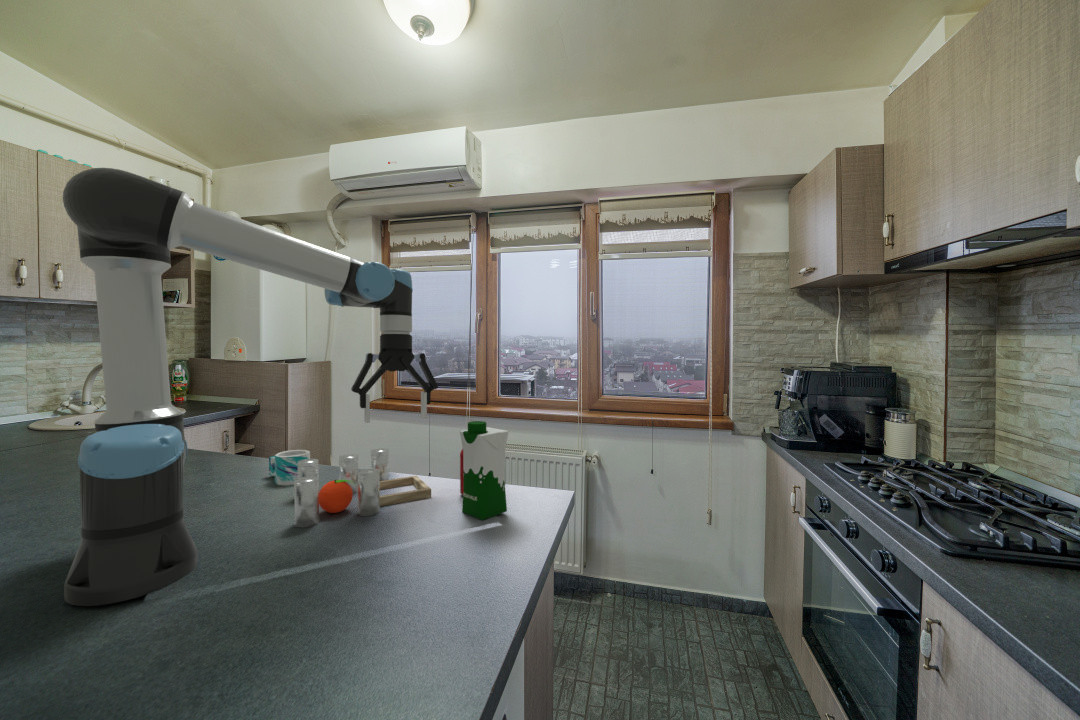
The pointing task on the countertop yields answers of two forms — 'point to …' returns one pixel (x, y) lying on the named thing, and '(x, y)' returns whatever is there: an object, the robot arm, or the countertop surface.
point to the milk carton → (483, 470)
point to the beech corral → (404, 496)
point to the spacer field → (348, 470)
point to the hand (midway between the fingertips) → (396, 419)
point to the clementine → (335, 496)
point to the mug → (286, 466)
